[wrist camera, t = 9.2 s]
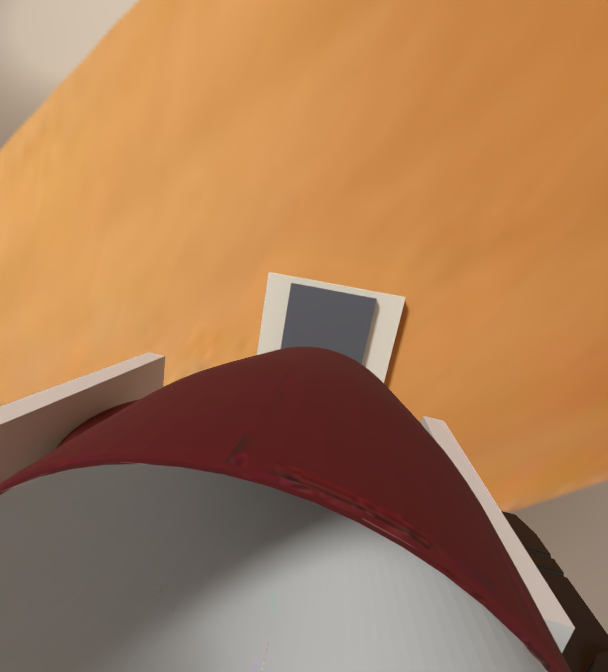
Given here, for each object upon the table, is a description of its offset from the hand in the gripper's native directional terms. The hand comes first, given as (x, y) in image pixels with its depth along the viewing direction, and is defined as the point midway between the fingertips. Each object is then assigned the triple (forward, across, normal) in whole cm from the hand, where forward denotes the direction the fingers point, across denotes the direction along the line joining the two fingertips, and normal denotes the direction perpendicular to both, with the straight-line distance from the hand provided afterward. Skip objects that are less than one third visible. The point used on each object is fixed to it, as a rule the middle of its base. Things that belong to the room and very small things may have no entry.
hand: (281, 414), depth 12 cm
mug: (+2, 0, 0) cm, 2 cm away
